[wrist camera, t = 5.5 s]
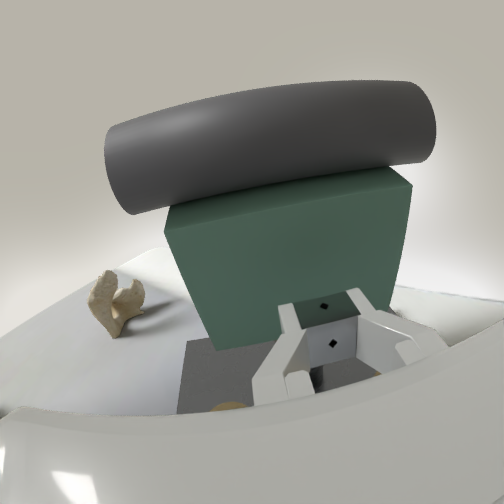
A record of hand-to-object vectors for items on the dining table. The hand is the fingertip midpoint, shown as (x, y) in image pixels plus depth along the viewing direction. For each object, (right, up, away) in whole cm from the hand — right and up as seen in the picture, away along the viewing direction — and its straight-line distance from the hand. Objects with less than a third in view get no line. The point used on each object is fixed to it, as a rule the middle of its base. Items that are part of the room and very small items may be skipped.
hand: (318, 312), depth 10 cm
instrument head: (+1, -2, +8) cm, 9 cm away
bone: (-20, -7, +26) cm, 34 cm away
